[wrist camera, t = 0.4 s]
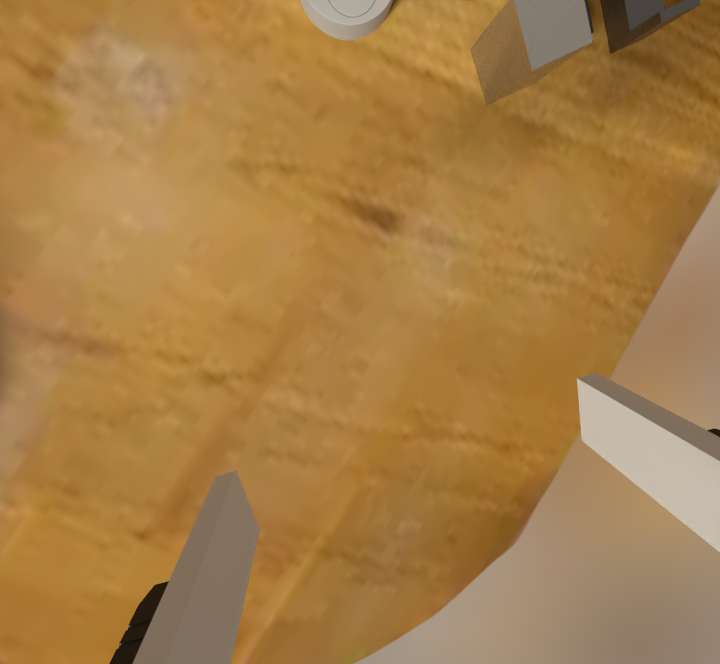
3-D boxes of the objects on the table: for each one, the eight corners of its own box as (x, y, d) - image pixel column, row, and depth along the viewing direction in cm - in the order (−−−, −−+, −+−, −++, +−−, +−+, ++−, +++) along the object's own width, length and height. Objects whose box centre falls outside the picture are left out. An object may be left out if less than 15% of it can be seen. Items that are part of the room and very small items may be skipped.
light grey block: (486, 105, 35) (531, 70, 28) (470, 49, 34) (513, -5, 26) (539, 80, 35) (600, 38, 27) (525, 23, 34) (585, -39, 26)
